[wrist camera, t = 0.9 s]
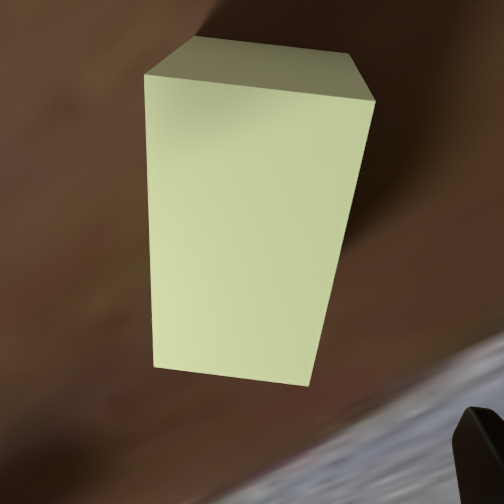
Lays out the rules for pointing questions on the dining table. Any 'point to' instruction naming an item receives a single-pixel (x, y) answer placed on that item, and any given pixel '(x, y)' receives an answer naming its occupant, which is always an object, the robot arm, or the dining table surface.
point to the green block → (249, 202)
